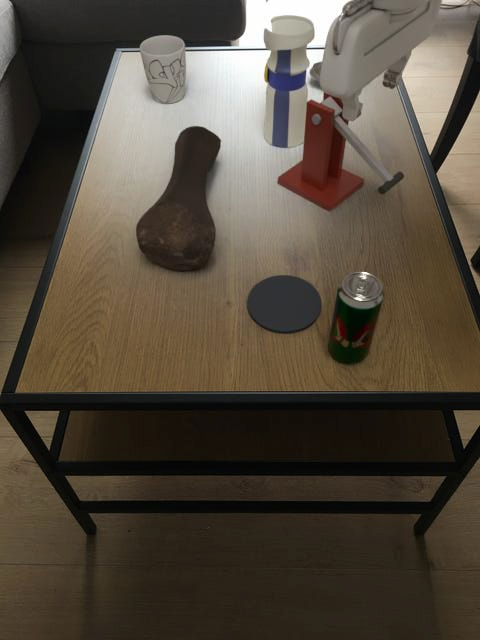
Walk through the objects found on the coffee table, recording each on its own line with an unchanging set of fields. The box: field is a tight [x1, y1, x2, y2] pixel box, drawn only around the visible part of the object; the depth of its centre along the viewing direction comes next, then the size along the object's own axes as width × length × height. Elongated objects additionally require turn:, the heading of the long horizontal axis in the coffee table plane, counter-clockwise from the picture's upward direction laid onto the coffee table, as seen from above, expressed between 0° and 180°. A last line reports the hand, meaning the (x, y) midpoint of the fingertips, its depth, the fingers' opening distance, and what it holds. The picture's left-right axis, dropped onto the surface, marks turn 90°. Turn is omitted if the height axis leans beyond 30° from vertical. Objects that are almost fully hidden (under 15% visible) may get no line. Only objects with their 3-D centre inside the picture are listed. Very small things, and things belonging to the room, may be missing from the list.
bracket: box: [277, 92, 365, 212], centre depth 83 cm, size 11×9×15 cm
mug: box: [139, 34, 187, 105], centre depth 105 cm, size 11×8×10 cm
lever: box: [320, 97, 405, 196], centre depth 79 cm, size 16×5×2 cm, turn 46°
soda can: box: [327, 271, 385, 365], centre depth 63 cm, size 5×5×12 cm
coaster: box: [246, 274, 323, 335], centre depth 73 cm, size 10×10×1 cm
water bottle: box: [263, 0, 316, 149], centre depth 89 cm, size 8×9×25 cm
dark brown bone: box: [135, 125, 222, 272], centre depth 83 cm, size 11×10×28 cm
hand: (371, 101), depth 67 cm, fingers open, 8 cm apart
